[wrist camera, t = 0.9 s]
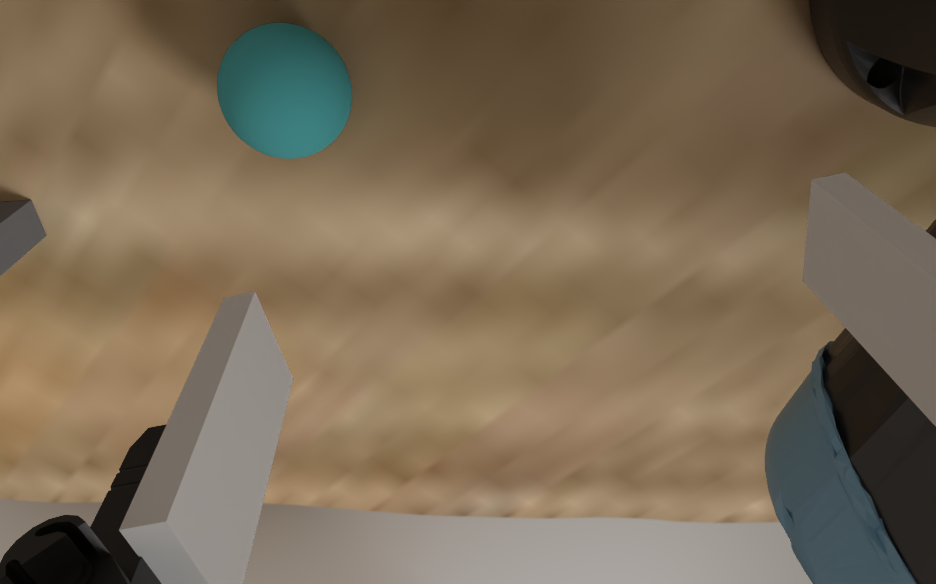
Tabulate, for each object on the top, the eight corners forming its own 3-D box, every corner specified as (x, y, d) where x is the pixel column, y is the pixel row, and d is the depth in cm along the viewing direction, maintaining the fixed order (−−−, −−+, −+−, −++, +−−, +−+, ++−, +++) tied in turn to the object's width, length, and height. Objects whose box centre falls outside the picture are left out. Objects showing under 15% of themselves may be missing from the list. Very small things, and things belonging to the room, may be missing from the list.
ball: (350, 8, 29) (330, 33, 25) (366, 131, 32) (351, 174, 28) (224, 16, 30) (181, 42, 25) (252, 137, 32) (218, 182, 28)
